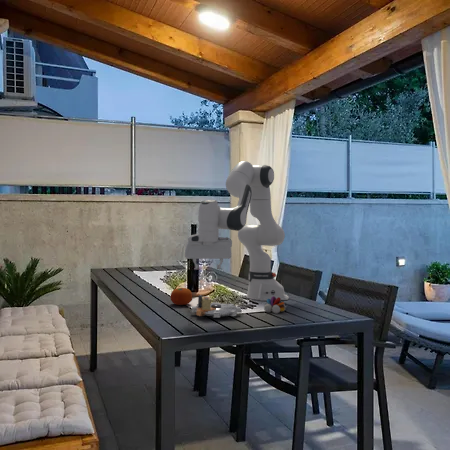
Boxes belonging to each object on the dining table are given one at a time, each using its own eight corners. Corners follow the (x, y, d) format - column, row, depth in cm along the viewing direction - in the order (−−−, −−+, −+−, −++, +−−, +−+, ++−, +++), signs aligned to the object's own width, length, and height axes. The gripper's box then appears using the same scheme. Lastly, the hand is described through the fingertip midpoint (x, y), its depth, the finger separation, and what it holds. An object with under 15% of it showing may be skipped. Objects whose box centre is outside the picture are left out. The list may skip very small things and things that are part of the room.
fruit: (182, 301, 241) (183, 286, 241) (196, 305, 233) (196, 288, 233) (165, 304, 233) (166, 288, 233) (179, 307, 226) (179, 291, 226)
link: (209, 306, 211) (209, 296, 211) (210, 309, 205) (210, 298, 205) (201, 306, 210) (201, 296, 210) (202, 309, 204) (202, 298, 204)
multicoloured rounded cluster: (280, 315, 216) (280, 299, 215) (261, 312, 221) (261, 296, 220) (287, 311, 223) (288, 296, 223) (269, 309, 228) (269, 294, 228)
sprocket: (209, 304, 227) (209, 290, 227) (249, 310, 216) (249, 295, 215) (181, 312, 209) (181, 296, 208) (223, 319, 197) (224, 303, 197)
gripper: (231, 236, 212) (230, 267, 213) (184, 236, 210) (184, 267, 211) (232, 237, 206) (232, 269, 207) (185, 237, 204) (184, 269, 204)
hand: (207, 268), depth 209 cm, fingers open, 8 cm apart
